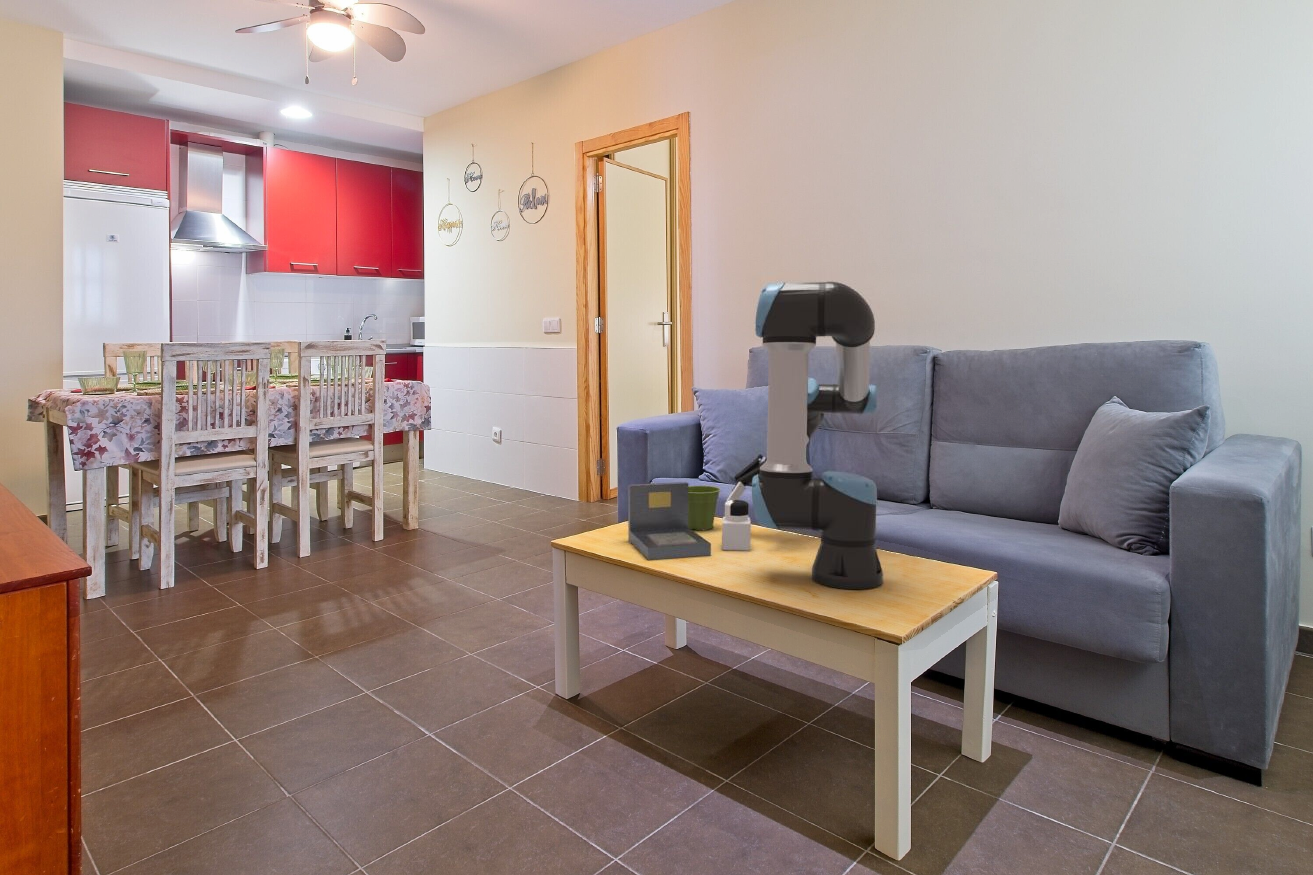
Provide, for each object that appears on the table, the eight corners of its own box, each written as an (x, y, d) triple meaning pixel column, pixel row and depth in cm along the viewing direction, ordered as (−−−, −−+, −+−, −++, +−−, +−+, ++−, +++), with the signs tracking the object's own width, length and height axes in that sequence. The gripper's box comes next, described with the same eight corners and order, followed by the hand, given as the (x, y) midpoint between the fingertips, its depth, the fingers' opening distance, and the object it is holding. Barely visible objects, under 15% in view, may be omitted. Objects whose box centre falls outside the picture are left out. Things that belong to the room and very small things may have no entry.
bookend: (710, 555, 189) (711, 495, 187) (648, 560, 184) (647, 498, 183) (685, 536, 208) (686, 481, 206) (628, 540, 204) (628, 484, 202)
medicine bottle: (749, 544, 200) (750, 498, 199) (750, 551, 193) (751, 504, 192) (722, 543, 201) (722, 498, 199) (721, 550, 194) (722, 503, 192)
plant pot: (701, 521, 227) (701, 483, 225) (729, 528, 217) (729, 489, 216) (670, 526, 219) (670, 488, 218) (697, 534, 210) (697, 494, 209)
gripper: (831, 460, 198) (789, 525, 191) (762, 450, 218) (722, 508, 211) (817, 441, 195) (775, 507, 187) (749, 433, 215) (708, 492, 207)
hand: (747, 508), depth 199 cm, fingers open, 13 cm apart
